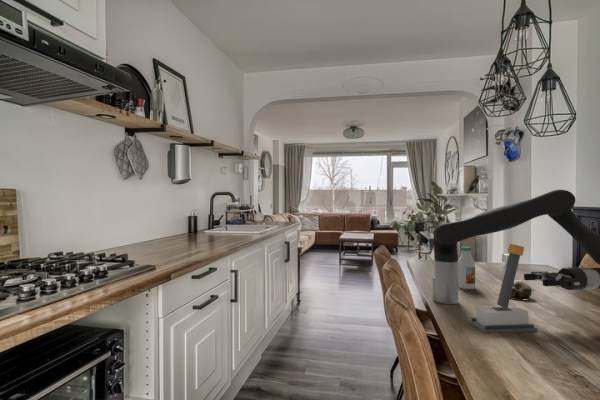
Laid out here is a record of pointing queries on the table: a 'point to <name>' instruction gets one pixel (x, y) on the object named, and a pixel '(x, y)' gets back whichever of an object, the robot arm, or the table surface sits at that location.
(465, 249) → the milk bottle
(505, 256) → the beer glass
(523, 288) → the skull
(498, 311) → the breaker base
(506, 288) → the lever
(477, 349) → the table surface
